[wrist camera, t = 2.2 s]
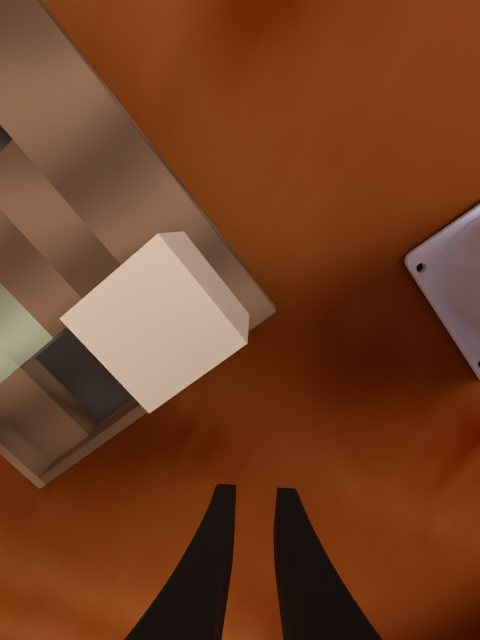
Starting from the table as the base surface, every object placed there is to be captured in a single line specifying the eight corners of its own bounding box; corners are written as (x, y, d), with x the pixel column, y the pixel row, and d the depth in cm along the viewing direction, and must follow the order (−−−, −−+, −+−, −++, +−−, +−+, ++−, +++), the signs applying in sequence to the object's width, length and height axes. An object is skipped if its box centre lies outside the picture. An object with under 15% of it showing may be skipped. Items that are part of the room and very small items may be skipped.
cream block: (249, 314, 17) (247, 343, 13) (173, 369, 19) (149, 413, 14) (183, 231, 16) (157, 233, 12) (107, 295, 18) (59, 318, 13)
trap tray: (274, 304, 19) (278, 318, 16) (67, 455, 23) (39, 489, 20) (2, -51, 15) (-59, -117, 12) (-196, 206, 18) (-279, 203, 16)
